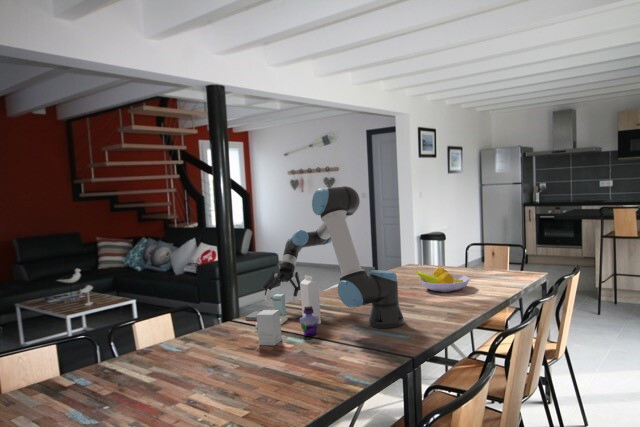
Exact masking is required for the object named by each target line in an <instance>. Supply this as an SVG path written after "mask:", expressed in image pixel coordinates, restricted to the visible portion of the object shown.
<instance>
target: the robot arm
mask: <svg viewBox="0 0 640 427" xmlns="http://www.w3.org/2000/svg"><path fill="white" fill-rule="evenodd" d="M360 203H361V200H360V196H359V193H358V192H357V191H356V189H355V188H353V187H350V186H347V185H346V186H335V187H334V186H333V187H321V188H318V189H317V190H315V191H314V193H313V196H312V200H311V207H312V212H313V213H314V214H315V215H316V216H320V219H321V221H322V223H321V225H320V226H319V227H318V228H317V230H315V231H306V230H303V229H298V230H297V231H295V233H294V234H292V236H291V237H290V238H288V239H287V240H286V243H285V245H284V250H283V255H282V257H281V263H280V266H279V270H278V273H276V272H274V271H273V272H272V274H271V276H270V277H269V278H268V280H267V281H266V282H265V283H264V284H263V286H262V288H263V290H264V291H265V292H264V302H265V303H266V304H268V303H269V300H270V296H271V292H272V291H271V290H273V288H275V287H276V286H277V285H278V284H280V283H288V282H290V284H291V286H292V287H293V288H292V292H291V297H290V302H291V304H294V303H295V298H296V297H297V296H298V292H299V291H300V283H301V281H300V278H299V277H300V275H299V272H298V271H296V272H295V269H296V264H297V260H298V256H299V253H300V251H301V250H302V249H303V248H309V247H315V246H326V245H328V244H330V243H332V246H333V249H334V253H335V256H336V260H337V262H338V266H339V268H340V272H341V275H340V277H339V281H340V282H338V285H337V295H338V297H339V300H340V301H341V302H342V303H343V305H345V306H346V307H348V308H360V307H362V306H365V305H370V304H371V310H370V314H369V317H368V324H369V326H371V327H372V328H376V329H394V328H399V327H401V326H403V325H404V323H405V318H404V315H403V312H402V310H401V308H400V307H401V306H400V305H399V304H400V303H399V288H398V287H399V286H398V283H399V282H398V277H397V273H396V272H394V271H391V270H380V269H379V270H377V269H375V270H373V269H372V270H371V271H369V273H367V271H366V269H363V268H362V267H361V264H360V260H359V257H358V255H357V251H356V248H355V245H354V242H353V239H352V235H351V233H350V230H349V225H348V224H347V223H348V222H347V220H346V219H348V217H350V216H353V215H354V214H355V213H356V211H357V210H358V209H359V207H360ZM368 274H369V275H368ZM293 277H294V278H295V279H296V283H297V285H296V283H295V281H294V280H293Z"/></svg>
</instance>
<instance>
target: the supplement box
mask: <svg viewBox="0 0 640 427" xmlns="http://www.w3.org/2000/svg"><path fill="white" fill-rule="evenodd" d="M256 317H257V320H256V323H257V327H258V328H257V336H258V345H259V346H277V345H278V344H280V342H281V341H282V340H283V337H282V327H281V325H282V324H280V313H279V310H273V309H263V310H262V311H261V312H260V313H258V314H257V315H256Z"/></svg>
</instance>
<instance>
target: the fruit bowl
mask: <svg viewBox="0 0 640 427" xmlns="http://www.w3.org/2000/svg"><path fill="white" fill-rule="evenodd" d="M414 272H415V273H416V274H417V275H418V277H419V281H420V284H422V287H425V288H426V289H428V290H431V291H434V292H441V293H448V292H455V291H458V290H460V289H463V288H464V287H467V286H468V284H469V281H470V280H471V278H470V277H468V276H466V275H463V274H455V273H449V272H448V270H446V269H445V268H444V267H443V268H442V267H436V269H434V270H433V271H432V274H427V273H424V272H421V271H418V270H417V269H416V270H415V269H414Z"/></svg>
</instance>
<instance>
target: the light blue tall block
mask: <svg viewBox="0 0 640 427" xmlns="http://www.w3.org/2000/svg"><path fill="white" fill-rule="evenodd" d="M285 296H286V295H285V293H276V294H273V295H272V297H271V298H272V307H273V308H272V310H279V313H280V315H287V309H286V308H287V307H286V297H285Z"/></svg>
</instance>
